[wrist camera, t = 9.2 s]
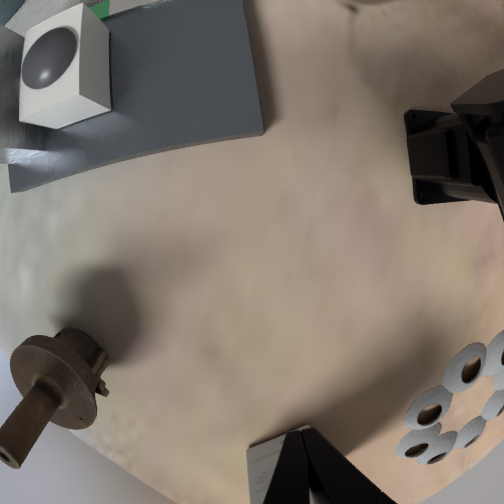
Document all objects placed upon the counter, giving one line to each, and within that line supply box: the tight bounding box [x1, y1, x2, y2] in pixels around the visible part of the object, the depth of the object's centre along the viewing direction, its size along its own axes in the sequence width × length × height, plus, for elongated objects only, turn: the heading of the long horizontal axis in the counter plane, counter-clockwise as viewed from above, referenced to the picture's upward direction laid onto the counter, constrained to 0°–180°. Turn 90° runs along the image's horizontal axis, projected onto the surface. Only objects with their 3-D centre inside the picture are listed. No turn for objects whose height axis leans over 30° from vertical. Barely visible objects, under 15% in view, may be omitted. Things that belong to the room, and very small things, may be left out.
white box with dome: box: [14, 2, 111, 129], centre depth 12 cm, size 6×8×4 cm, turn 8°
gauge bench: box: [0, 0, 264, 193], centre depth 12 cm, size 18×12×8 cm
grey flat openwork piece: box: [395, 330, 504, 464], centre depth 23 cm, size 20×20×2 cm
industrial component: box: [0, 328, 109, 469], centre depth 14 cm, size 9×7×12 cm
